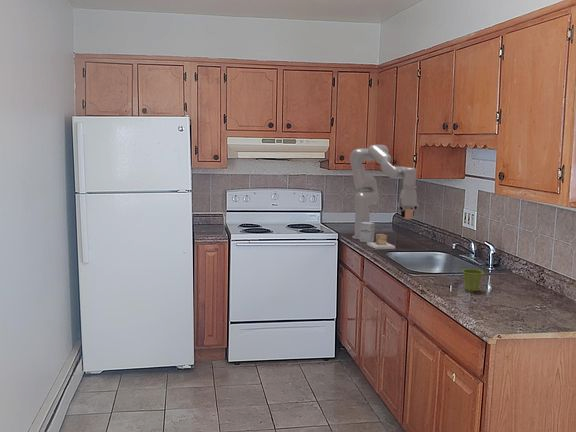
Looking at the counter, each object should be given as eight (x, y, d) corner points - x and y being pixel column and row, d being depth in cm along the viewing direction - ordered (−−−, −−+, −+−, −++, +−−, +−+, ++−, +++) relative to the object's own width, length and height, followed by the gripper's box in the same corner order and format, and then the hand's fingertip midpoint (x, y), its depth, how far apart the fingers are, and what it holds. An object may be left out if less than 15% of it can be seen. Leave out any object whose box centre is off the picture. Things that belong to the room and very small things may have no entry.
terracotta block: (401, 217, 381) (402, 208, 380) (409, 217, 382) (409, 208, 382) (405, 219, 376) (405, 209, 376) (412, 219, 378) (413, 209, 377)
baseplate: (367, 244, 387) (367, 242, 387) (386, 244, 390) (386, 242, 390) (375, 248, 374) (375, 246, 374) (395, 248, 377) (395, 246, 377)
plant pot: (479, 293, 272) (480, 274, 271) (458, 290, 277) (459, 271, 276) (484, 289, 280) (486, 270, 278) (464, 286, 285) (465, 268, 283)
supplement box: (359, 242, 397) (360, 222, 396) (363, 240, 404) (364, 221, 402) (370, 243, 394) (371, 223, 392) (374, 241, 400) (375, 222, 399)
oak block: (375, 243, 384) (376, 234, 383) (383, 243, 385) (383, 234, 384) (378, 245, 379) (379, 235, 378) (386, 244, 380) (386, 235, 379)
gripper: (419, 187, 383) (417, 216, 385) (393, 187, 379) (392, 216, 381) (424, 188, 375) (422, 217, 378) (398, 188, 371) (396, 218, 374)
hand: (407, 216), depth 379 cm, fingers closed on terracotta block, 5 cm apart
